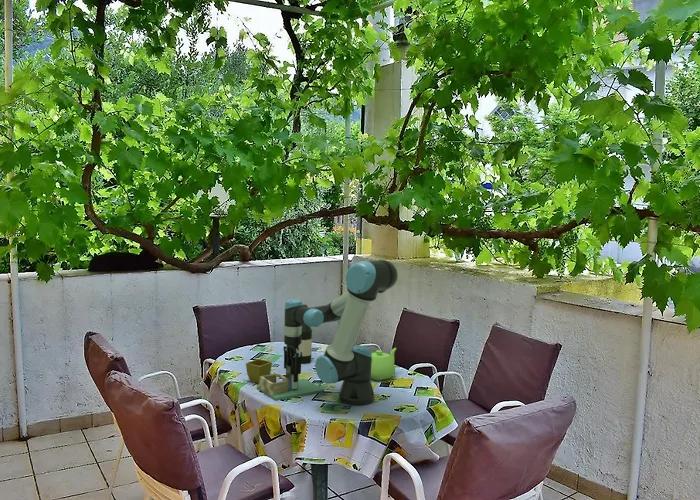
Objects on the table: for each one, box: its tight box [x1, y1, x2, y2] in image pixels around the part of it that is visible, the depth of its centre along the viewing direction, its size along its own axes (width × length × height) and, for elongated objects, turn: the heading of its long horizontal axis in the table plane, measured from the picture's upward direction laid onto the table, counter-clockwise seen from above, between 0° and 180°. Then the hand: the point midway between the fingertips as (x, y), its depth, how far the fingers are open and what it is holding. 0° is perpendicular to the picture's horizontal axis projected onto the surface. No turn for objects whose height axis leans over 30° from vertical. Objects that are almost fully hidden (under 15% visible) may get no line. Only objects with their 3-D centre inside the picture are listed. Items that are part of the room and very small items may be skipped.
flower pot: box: [245, 358, 273, 384], centre depth 273 cm, size 9×9×9 cm
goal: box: [258, 371, 288, 395], centre depth 258 cm, size 12×8×6 cm, turn 34°
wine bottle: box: [298, 304, 313, 365], centre depth 306 cm, size 8×8×30 cm
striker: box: [282, 364, 293, 390], centre depth 261 cm, size 5×5×10 cm
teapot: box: [371, 347, 397, 381], centre depth 285 cm, size 22×15×13 cm
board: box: [256, 378, 325, 402], centre depth 262 cm, size 18×24×1 cm
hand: (291, 387), depth 261 cm, fingers closed on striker, 4 cm apart
